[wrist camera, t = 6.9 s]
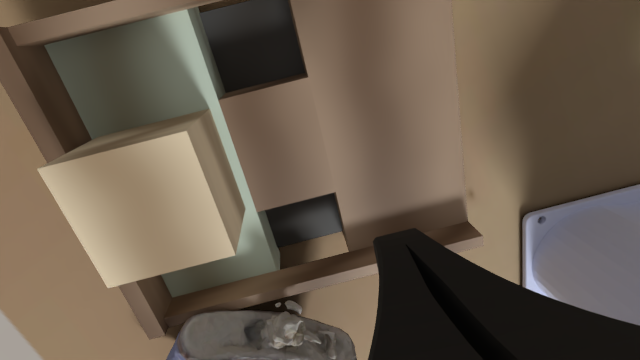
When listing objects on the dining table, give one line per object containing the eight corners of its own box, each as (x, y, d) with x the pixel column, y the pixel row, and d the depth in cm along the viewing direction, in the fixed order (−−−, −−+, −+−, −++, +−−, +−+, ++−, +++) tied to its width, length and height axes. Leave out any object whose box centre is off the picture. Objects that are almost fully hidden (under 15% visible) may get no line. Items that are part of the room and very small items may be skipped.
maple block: (209, 108, 15) (186, 130, 11) (245, 208, 17) (235, 255, 13) (97, 137, 15) (37, 169, 11) (145, 234, 17) (108, 288, 13)
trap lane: (421, -58, 16) (472, -93, 12) (448, 209, 21) (488, 251, 17) (54, 34, 16) (-28, 32, 11) (175, 280, 21) (149, 339, 17)
